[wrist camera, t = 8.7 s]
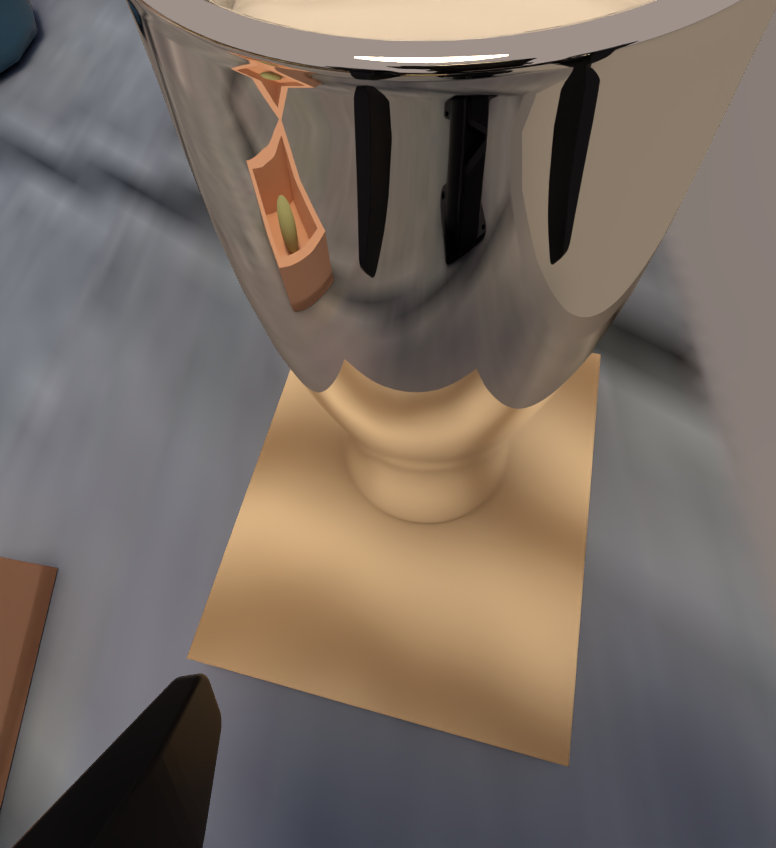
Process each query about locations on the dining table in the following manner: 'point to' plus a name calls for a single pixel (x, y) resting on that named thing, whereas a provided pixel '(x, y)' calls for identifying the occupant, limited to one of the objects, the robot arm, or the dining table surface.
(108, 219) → the dining table surface
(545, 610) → the oak board
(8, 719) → the terracotta dish
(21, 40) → the wine bottle
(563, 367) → the metal goblet
